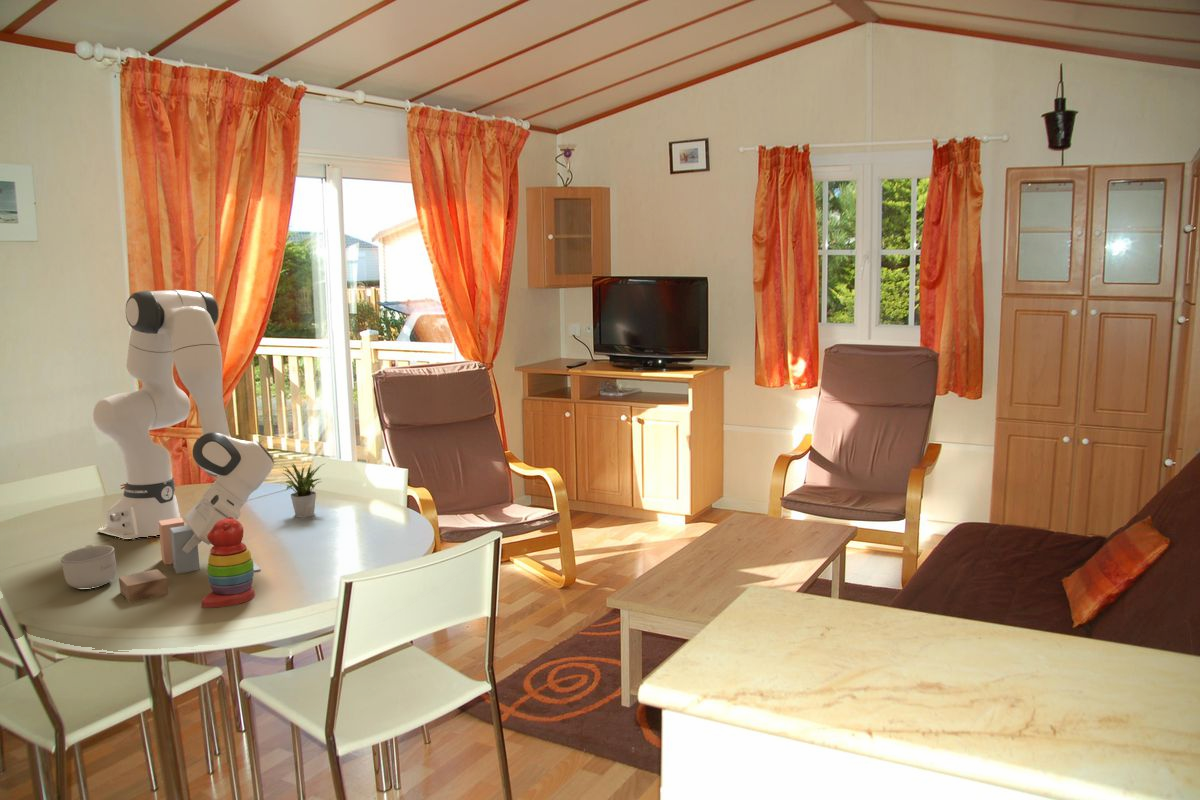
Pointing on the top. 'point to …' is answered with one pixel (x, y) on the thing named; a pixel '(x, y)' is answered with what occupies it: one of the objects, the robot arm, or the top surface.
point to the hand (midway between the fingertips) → (181, 547)
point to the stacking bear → (228, 566)
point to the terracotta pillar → (167, 537)
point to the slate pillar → (181, 558)
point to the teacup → (89, 566)
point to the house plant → (303, 491)
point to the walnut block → (143, 585)
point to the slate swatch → (256, 568)
